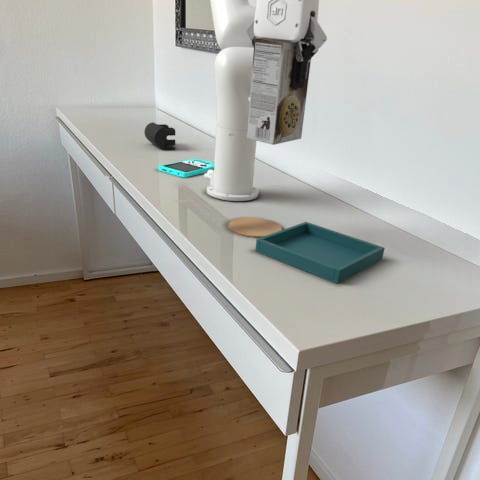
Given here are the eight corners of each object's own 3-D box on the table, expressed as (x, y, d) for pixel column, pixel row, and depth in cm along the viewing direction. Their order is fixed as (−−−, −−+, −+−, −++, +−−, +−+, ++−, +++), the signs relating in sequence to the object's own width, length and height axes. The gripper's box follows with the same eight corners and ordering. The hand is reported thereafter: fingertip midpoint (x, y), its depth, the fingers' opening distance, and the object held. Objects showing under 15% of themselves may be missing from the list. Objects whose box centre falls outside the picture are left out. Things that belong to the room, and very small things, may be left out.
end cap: (144, 144, 166) (143, 122, 163) (164, 143, 170) (164, 122, 166) (154, 150, 159) (154, 127, 156) (175, 150, 162) (176, 127, 159)
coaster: (217, 225, 103) (217, 224, 103) (252, 215, 110) (252, 214, 110) (258, 241, 97) (258, 240, 97) (292, 229, 104) (292, 228, 104)
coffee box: (274, 133, 98) (284, 38, 90) (302, 139, 95) (315, 41, 86) (245, 138, 92) (252, 36, 83) (273, 145, 88) (284, 39, 80)
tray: (255, 251, 92) (256, 238, 91) (304, 232, 103) (305, 221, 102) (337, 283, 83) (339, 270, 82) (382, 259, 93) (384, 247, 92)
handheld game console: (222, 168, 145) (222, 164, 144) (184, 178, 133) (185, 172, 132) (196, 162, 150) (196, 157, 149) (157, 170, 138) (157, 165, 137)
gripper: (235, -44, 82) (228, 79, 91) (326, -44, 72) (308, 92, 81) (264, -37, 87) (255, 78, 96) (353, -37, 77) (333, 91, 86)
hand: (279, 83), depth 88 cm, fingers closed on coffee box, 6 cm apart
